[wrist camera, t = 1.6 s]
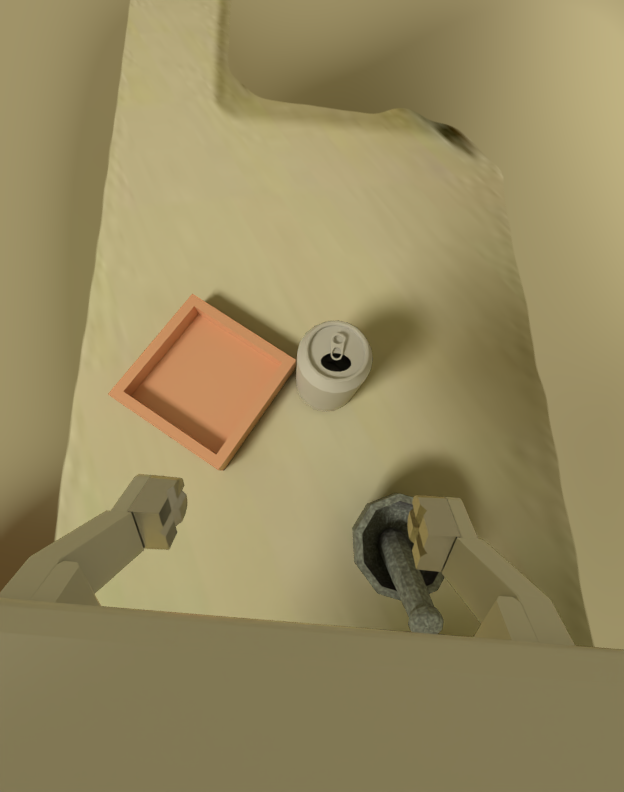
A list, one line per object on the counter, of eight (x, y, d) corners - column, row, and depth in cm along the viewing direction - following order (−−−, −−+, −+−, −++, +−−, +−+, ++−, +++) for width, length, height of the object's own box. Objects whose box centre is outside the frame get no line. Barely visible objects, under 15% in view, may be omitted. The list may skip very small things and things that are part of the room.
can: (293, 410, 42) (294, 385, 30) (298, 353, 44) (300, 309, 32) (352, 415, 42) (376, 391, 31) (355, 358, 44) (377, 316, 32)
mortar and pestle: (343, 491, 40) (363, 498, 29) (419, 489, 41) (470, 494, 29) (348, 596, 38) (373, 650, 26) (430, 592, 38) (490, 643, 26)
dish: (223, 470, 40) (218, 470, 37) (120, 399, 41) (107, 394, 38) (295, 367, 43) (296, 360, 40) (198, 305, 45) (192, 293, 42)
